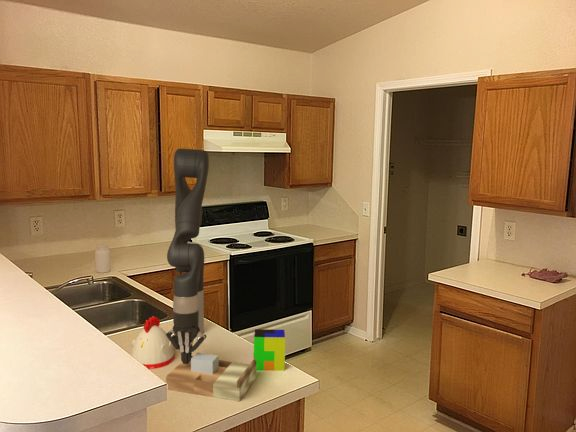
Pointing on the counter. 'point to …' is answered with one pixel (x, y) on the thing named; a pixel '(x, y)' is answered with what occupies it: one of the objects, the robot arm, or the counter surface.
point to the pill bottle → (102, 259)
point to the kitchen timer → (153, 346)
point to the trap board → (214, 380)
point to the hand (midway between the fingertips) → (186, 362)
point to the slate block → (204, 363)
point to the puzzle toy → (269, 349)
